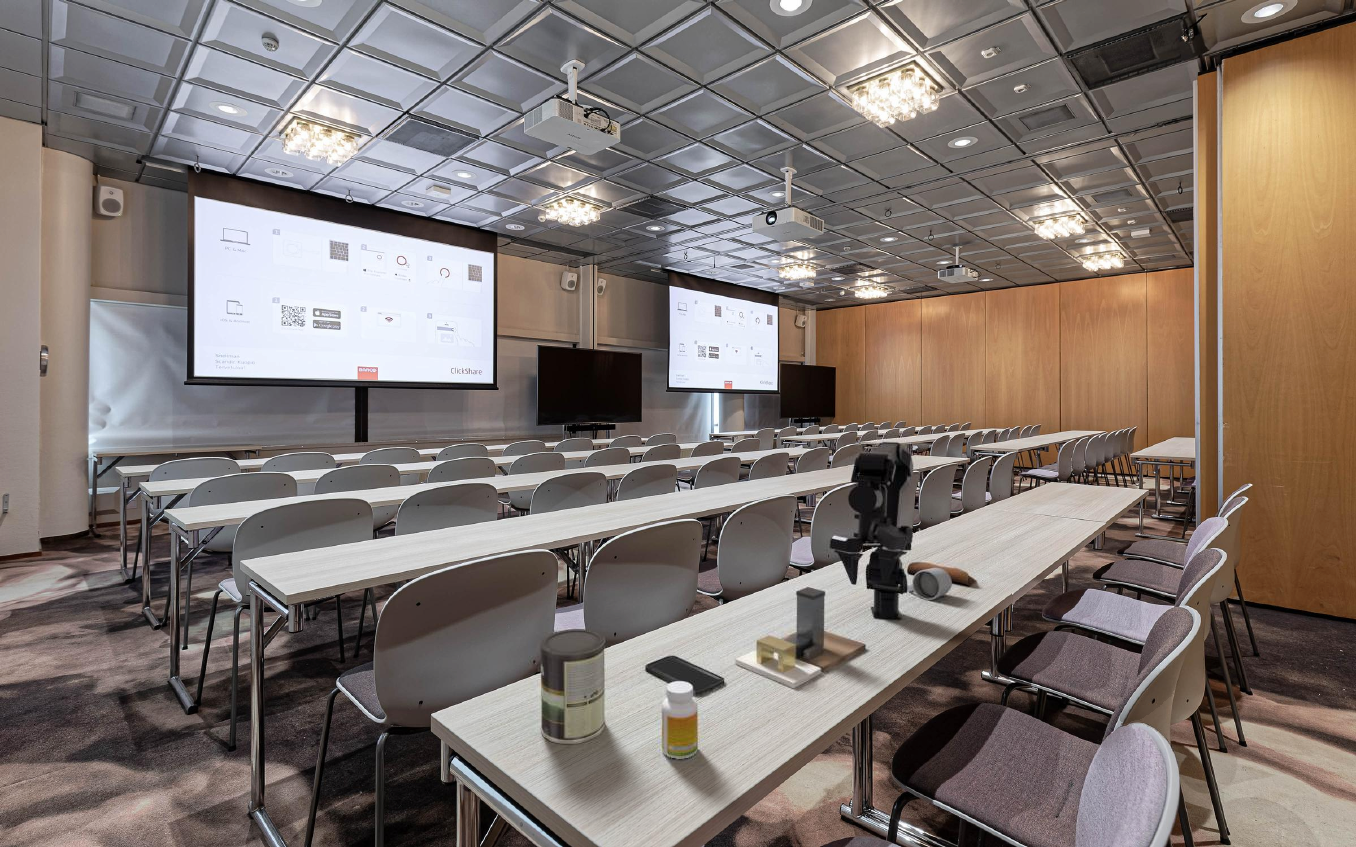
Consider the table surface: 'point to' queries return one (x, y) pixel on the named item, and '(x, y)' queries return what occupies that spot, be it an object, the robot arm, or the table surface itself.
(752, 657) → the jamb plate
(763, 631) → the table surface
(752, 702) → the table surface
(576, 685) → the coffee can
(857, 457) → the robot arm
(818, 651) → the guide rails
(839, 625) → the table surface
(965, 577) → the orange brown tapered rod
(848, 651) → the door leaf
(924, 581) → the ceramic mug
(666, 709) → the supplement bottle
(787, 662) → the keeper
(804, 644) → the dark square pillar
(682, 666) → the phone
